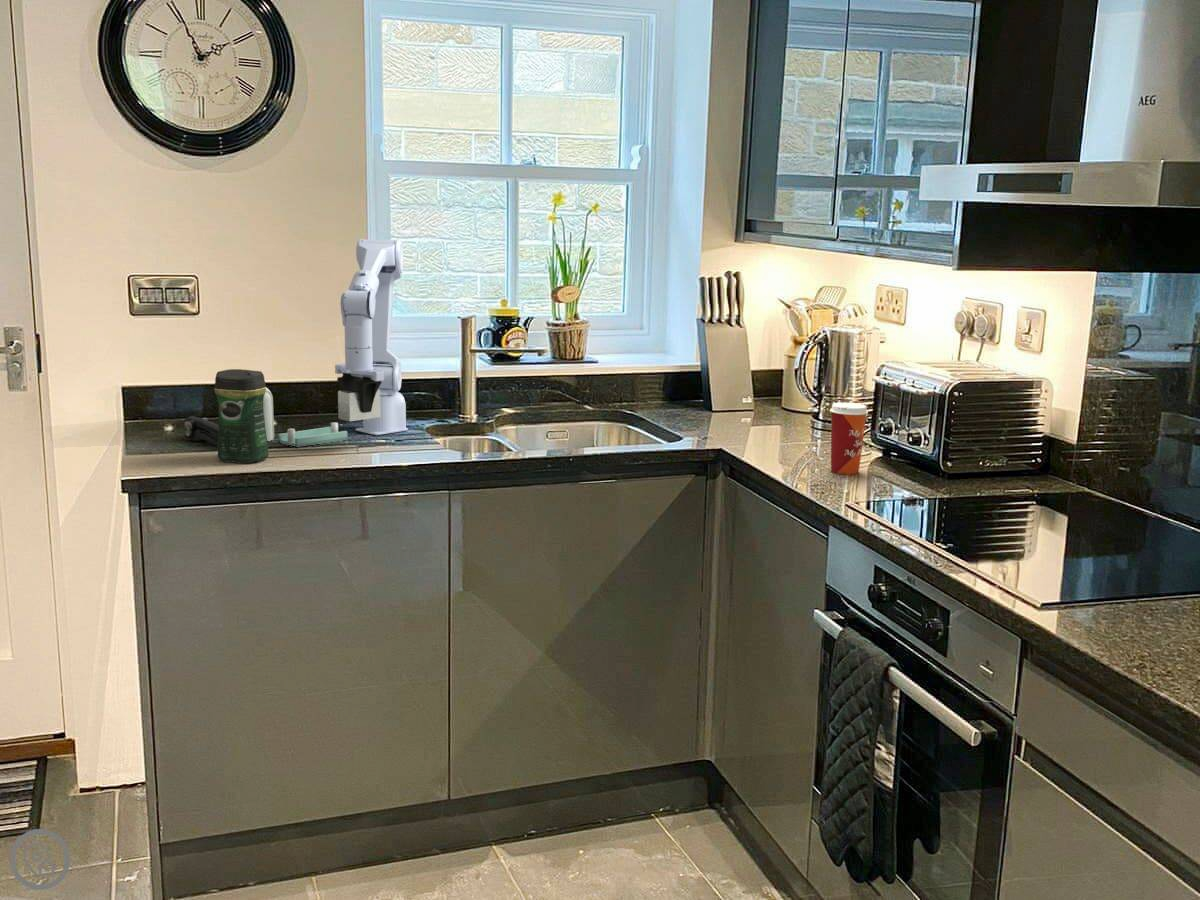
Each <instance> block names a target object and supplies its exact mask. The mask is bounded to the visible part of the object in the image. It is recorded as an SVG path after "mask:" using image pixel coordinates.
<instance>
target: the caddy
mask: <svg viewBox="0 0 1200 900" xmlns="http://www.w3.org/2000/svg"><path fill="white" fill-rule="evenodd" d="M343 440H346V441H349V440H348V431H347V430H342V431H339V423H338V422H330V426H326V427H319V428H317V427H316V428H313V429H311V428H310V429H305V430H304V429H303V430H297V431H296V429H295V428H288V429H287V432H285V433H278V443H279V442H280V443H284V444H288V445H293V446H296V447H300V446H307V445H314V446H316V445H315V444H320V445H324V444H323V443H327V444H332V443H331V442H333V443H338V442H337V441H339V442H344V441H343ZM280 443H279V444H280ZM284 444H283V445H284ZM288 445H287V446H288Z"/></svg>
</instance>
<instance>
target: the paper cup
mask: <svg viewBox="0 0 1200 900" xmlns="http://www.w3.org/2000/svg"><path fill="white" fill-rule="evenodd" d="M829 412H830V413H831V415H830V417H831V418H830V419H831V420H830V421H831V423H830V442H831V443H830V471H831V472H832V473H833V474H837V475H846V476H849V475H857V474H858V473H859V470H860V466H861V465H860V464H861V458H862V457H861V456H862V450H863V443H864V433H865V427H866V420H867V414H869V412H868V410H867V406H866V405H865V404H863V403H862V404H861V403H855V402H835V403H832V405H831V408H830V409H829Z"/></svg>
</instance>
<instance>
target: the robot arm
mask: <svg viewBox="0 0 1200 900" xmlns="http://www.w3.org/2000/svg"><path fill="white" fill-rule="evenodd" d="M355 253H356V254H355V256H356V262H357V265H358V267H359V270H357V271H356V272H355V273H354V274H353V276H352V279H351V281H350V285H349V286H348V289H347V290H345V292H342V293H341V296H340V302H339V303H340V313H341V319H342V321H341V323H342V326H343V327H344V360H345V361H344V363H340V364H339V363H337V364H334V373H335V374H337V375H340V374H341V375H342V376H339V377H337V379H336V381H337V382H338V384H339V385H340V387H341V391H342V390H350V389H358V393H359V398H360V408H361V412H362V413H366V412H371V410H372V406H373V401H374V398H375V395H376V392H377V390H378V389H380V414H381V417H377V418H370V419H363V420H362V423H363V424H362V425H363V427H356V428H355V431H357V432H361V433H365V434H369V435H373V436H380V435H381V436H382V435H387V434H392V433H393V434H394V433H399V432H400V433H401V432H406V431H408V430H409V428H408V427H407V414H406V413H407V407H406V401H405V397H404V395H403V394H402V393H401V392H399V391H400V390H401V389H402V381H403V380H402V379H403V378H402V363H401V360H400V359H399V357H398V356H396V355H395V354H394V353H392V351H390V349H391V348H390V347H391V346H390V345H391V329H392V309H393V308H392V307H393V306H392V304H393V290H394V286H395V282H396V281H397V280H399V279H401V278H402V274H403V267H404V266H403V265H404V247H403V242H402V241H401V240H400V239H368V238H361V237H360V238H359V240H357V243H356V250H355Z"/></svg>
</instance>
